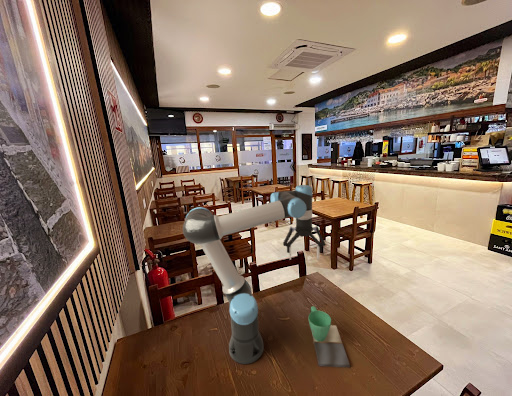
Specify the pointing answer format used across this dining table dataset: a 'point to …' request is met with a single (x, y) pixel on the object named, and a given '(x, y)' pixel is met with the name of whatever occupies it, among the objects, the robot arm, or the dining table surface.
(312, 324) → the mug
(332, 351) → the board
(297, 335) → the dining table surface
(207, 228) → the robot arm
